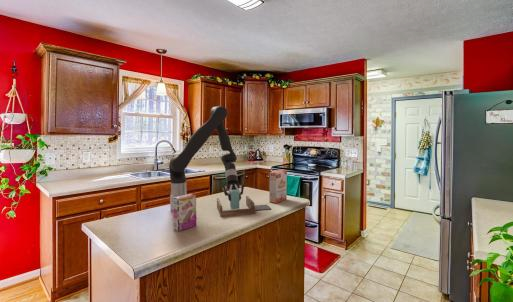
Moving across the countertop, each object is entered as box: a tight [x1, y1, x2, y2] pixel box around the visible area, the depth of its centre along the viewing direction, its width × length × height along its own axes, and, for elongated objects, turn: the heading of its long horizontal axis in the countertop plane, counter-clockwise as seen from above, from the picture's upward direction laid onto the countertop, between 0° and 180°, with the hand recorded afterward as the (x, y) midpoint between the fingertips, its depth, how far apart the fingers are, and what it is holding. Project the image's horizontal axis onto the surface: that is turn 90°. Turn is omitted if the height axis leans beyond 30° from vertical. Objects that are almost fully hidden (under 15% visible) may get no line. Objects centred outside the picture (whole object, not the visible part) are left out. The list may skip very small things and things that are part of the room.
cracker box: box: [268, 169, 288, 204], centre depth 185 cm, size 14×6×21 cm, turn 143°
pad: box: [254, 203, 272, 212], centre depth 169 cm, size 10×10×1 cm
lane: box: [216, 195, 256, 218], centre depth 164 cm, size 19×20×6 cm
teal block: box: [229, 189, 240, 210], centre depth 165 cm, size 5×5×11 cm
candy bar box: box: [172, 193, 197, 232], centre depth 135 cm, size 11×5×16 cm, turn 141°
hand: (235, 200), depth 163 cm, fingers closed on teal block, 5 cm apart
